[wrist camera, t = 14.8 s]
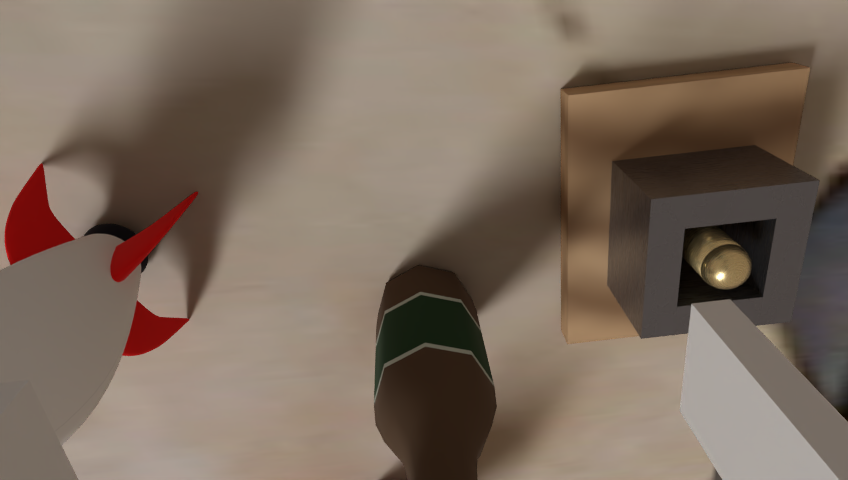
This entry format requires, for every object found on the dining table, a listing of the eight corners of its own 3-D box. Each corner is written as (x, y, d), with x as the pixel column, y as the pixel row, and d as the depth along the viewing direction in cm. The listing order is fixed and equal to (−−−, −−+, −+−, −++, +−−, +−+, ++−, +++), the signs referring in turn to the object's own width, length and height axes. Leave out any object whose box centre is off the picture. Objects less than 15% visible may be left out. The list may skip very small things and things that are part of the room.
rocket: (40, 162, 42) (-356, 414, 20) (198, 191, 44) (-3, 454, 21) (46, 298, 47) (-268, 626, 24) (189, 320, 48) (16, 647, 26)
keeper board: (560, 88, 42) (568, 95, 40) (792, 62, 42) (810, 67, 40) (561, 329, 51) (567, 344, 49) (752, 307, 51) (765, 321, 49)
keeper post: (657, 203, 44) (714, 258, 36) (699, 198, 44) (765, 252, 36) (655, 240, 45) (709, 300, 37) (695, 235, 45) (757, 295, 37)
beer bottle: (467, 254, 47) (534, 517, 25) (478, 336, 50) (544, 629, 29) (368, 269, 47) (350, 544, 26) (385, 350, 51) (382, 652, 29)
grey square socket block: (611, 160, 42) (651, 199, 36) (755, 144, 42) (819, 180, 36) (607, 285, 47) (641, 338, 40) (736, 270, 47) (790, 321, 40)
